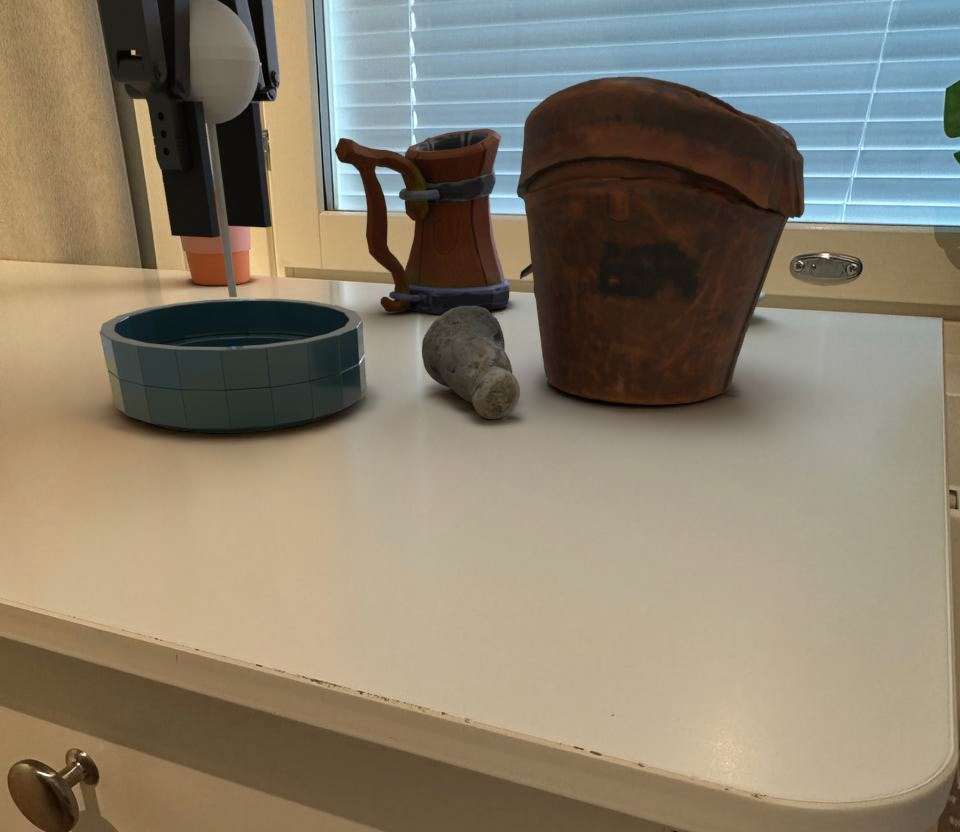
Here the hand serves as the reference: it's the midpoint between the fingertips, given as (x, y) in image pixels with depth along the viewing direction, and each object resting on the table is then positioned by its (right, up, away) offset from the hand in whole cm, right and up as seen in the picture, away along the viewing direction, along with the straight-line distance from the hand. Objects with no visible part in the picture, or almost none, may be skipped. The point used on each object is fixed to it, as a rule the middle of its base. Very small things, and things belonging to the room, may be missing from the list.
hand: (223, 230), depth 52 cm
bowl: (0, -9, +5) cm, 10 cm away
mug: (+10, +8, +33) cm, 36 cm away
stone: (+15, -8, +6) cm, 18 cm away
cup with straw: (-13, +15, +46) cm, 50 cm away
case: (+26, -6, +10) cm, 29 cm away
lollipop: (0, -3, +2) cm, 4 cm away
